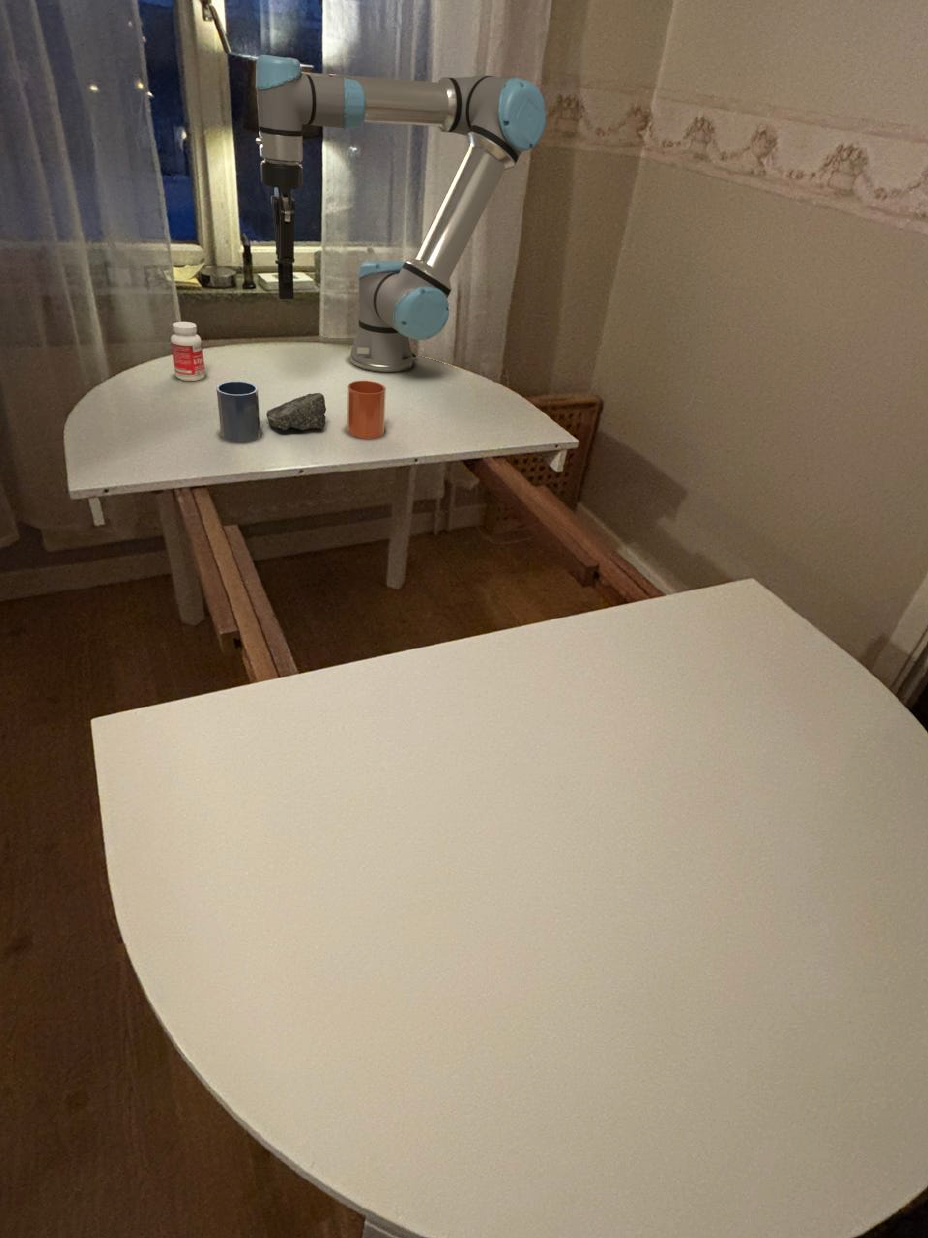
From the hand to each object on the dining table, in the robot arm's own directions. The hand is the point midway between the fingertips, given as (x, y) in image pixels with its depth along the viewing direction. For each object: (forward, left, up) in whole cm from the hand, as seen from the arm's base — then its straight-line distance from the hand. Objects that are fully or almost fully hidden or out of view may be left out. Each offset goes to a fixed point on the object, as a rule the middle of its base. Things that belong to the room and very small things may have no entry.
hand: (286, 297), depth 149 cm
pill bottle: (+20, -10, -20) cm, 30 cm away
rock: (+1, +19, -20) cm, 27 cm away
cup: (+12, +22, -19) cm, 32 cm away
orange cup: (-12, +22, -19) cm, 32 cm away
